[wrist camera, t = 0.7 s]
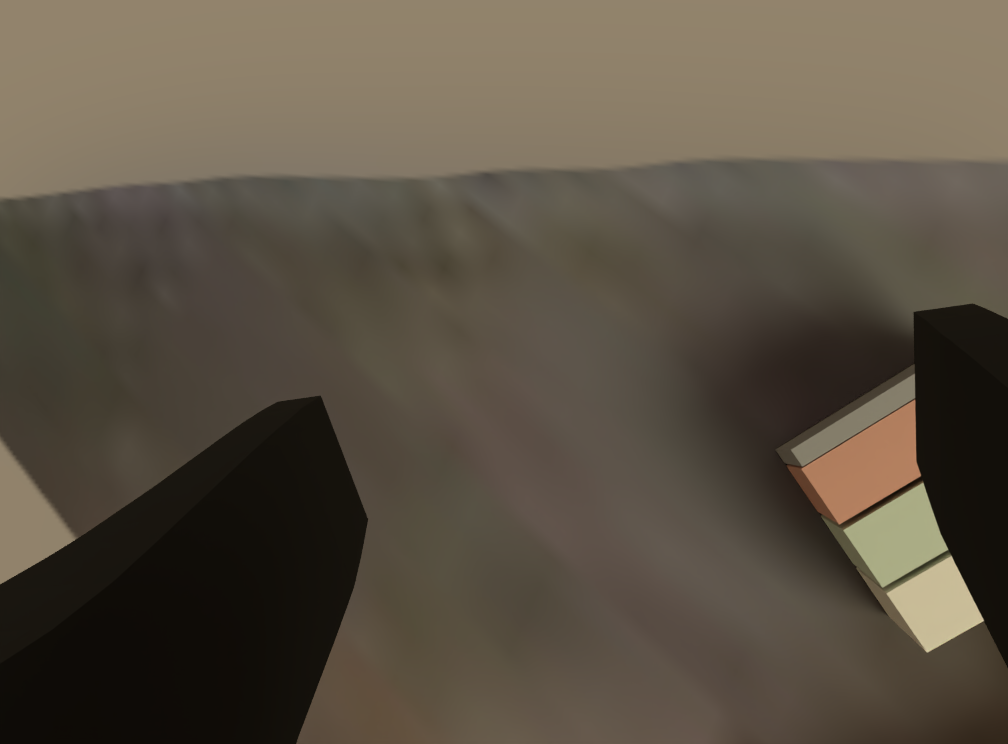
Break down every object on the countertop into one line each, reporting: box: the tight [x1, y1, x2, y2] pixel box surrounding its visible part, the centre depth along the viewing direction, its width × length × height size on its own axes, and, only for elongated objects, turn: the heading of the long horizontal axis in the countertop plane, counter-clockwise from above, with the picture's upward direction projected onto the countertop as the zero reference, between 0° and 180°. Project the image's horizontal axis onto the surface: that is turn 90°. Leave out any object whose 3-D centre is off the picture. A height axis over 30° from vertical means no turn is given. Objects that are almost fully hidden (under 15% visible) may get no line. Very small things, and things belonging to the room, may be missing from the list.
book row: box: [775, 364, 984, 653], centre depth 29 cm, size 7×7×7 cm
